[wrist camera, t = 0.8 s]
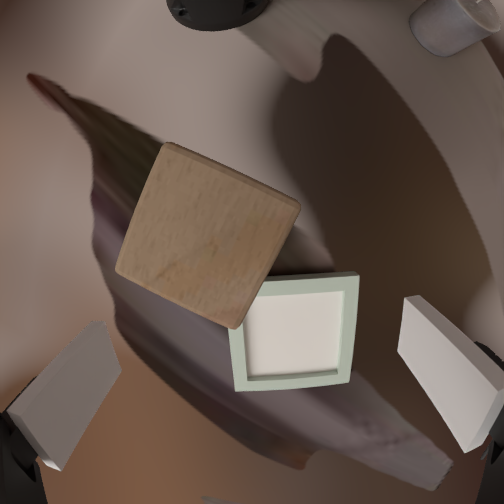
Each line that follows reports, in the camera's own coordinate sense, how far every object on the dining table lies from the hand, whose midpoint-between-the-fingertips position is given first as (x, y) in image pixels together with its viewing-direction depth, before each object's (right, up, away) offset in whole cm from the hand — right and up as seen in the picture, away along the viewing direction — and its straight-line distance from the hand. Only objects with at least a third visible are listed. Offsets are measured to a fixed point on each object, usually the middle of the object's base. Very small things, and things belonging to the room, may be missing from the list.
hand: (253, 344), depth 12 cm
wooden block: (-3, +9, +27) cm, 28 cm away
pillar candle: (+30, +40, +19) cm, 54 cm away
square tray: (+6, -8, +30) cm, 32 cm away
